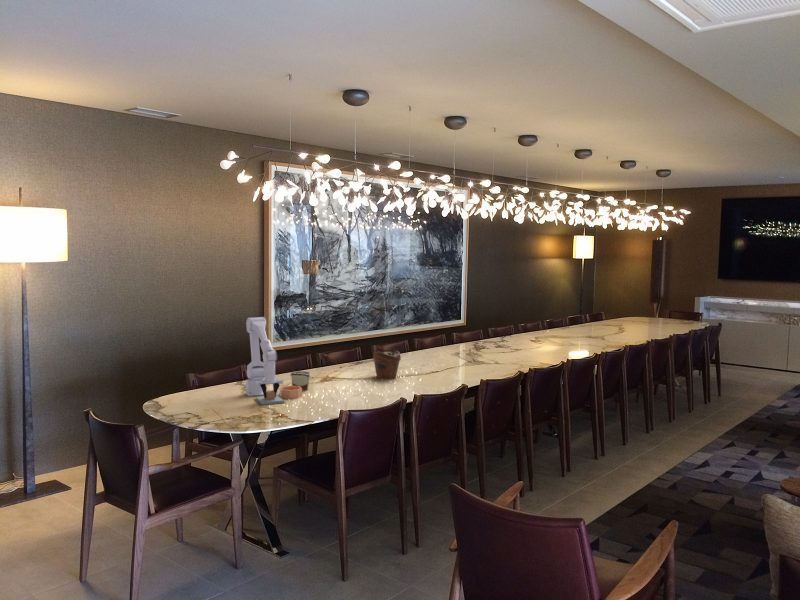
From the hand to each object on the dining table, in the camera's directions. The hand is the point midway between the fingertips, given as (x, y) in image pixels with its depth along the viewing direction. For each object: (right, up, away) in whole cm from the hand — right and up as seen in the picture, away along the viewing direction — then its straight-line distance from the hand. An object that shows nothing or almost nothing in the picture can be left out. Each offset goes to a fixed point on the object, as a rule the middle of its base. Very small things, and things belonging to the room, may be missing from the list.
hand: (269, 397), depth 352 cm
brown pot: (+62, +3, +69) cm, 93 cm away
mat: (0, -2, 0) cm, 2 cm away
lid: (0, -2, 0) cm, 2 cm away
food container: (+13, 0, +32) cm, 34 cm away
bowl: (+9, -1, +13) cm, 16 cm away
